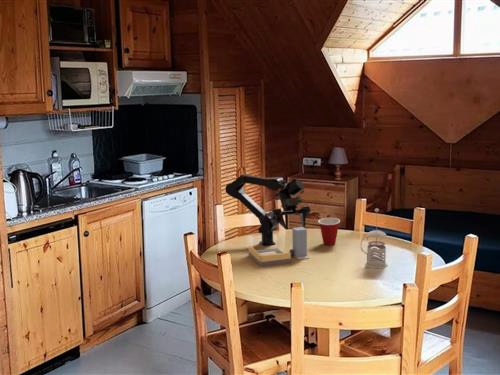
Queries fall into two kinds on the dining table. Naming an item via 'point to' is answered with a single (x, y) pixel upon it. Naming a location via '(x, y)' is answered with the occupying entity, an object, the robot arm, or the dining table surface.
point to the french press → (375, 249)
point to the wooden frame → (269, 256)
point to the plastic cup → (329, 230)
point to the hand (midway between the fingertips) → (295, 227)
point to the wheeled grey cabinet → (299, 243)
